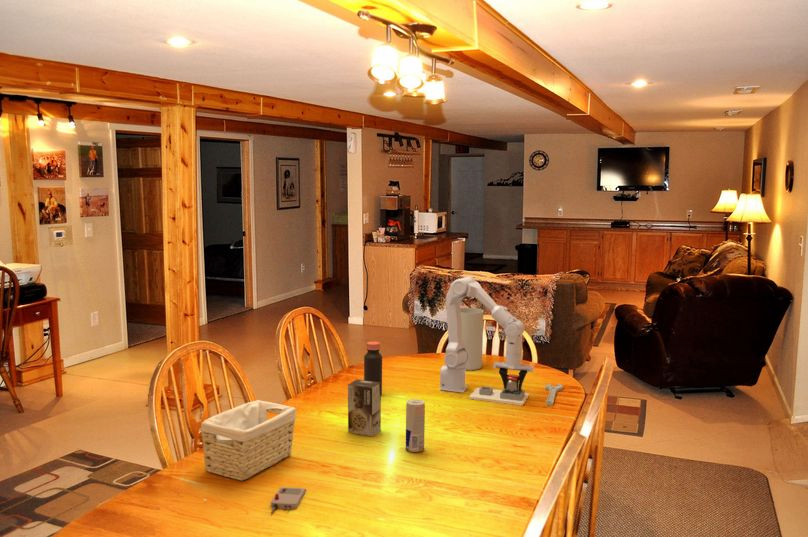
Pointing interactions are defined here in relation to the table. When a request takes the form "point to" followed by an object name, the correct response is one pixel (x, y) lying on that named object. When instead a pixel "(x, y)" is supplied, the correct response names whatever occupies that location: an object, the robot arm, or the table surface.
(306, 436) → the table surface
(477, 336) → the cylinder vase
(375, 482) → the table surface
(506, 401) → the socket board
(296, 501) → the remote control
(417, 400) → the beverage can
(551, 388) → the adjustable wrench
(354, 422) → the coffee box
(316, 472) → the table surface
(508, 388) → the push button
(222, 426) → the storage basket
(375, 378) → the bottle
